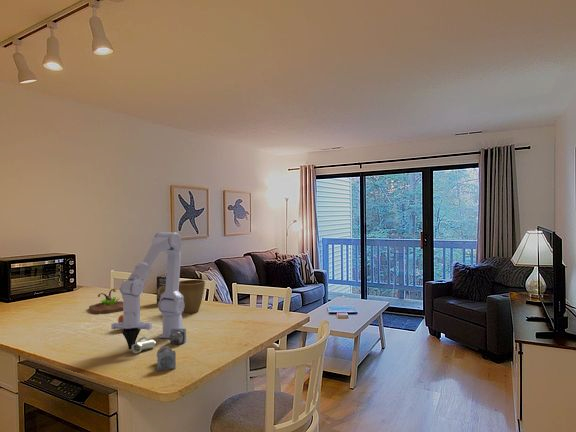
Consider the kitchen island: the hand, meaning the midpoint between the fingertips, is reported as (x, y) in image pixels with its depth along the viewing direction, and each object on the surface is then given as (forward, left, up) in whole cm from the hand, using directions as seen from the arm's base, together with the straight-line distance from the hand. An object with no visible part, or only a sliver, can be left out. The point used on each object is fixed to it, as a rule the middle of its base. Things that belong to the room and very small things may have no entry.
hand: (131, 348), depth 139 cm
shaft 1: (+13, +18, -1) cm, 22 cm away
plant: (-65, -42, -2) cm, 77 cm away
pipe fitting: (-1, +4, -1) cm, 5 cm away
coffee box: (-78, -16, -1) cm, 80 cm away
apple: (-27, -15, -1) cm, 31 cm away
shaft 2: (-9, +14, -1) cm, 17 cm away
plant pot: (-60, +4, -1) cm, 61 cm away
